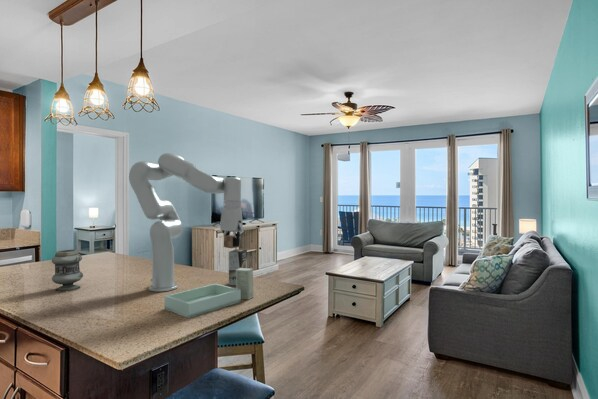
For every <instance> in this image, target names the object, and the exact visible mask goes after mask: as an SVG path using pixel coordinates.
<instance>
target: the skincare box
mask: <svg viewBox="0 0 598 399" xmlns="http://www.w3.org/2000/svg"><path fill="white" fill-rule="evenodd" d="M253 269H254V268H253V267H250V268H249V267H247V268H239V269H237V270H236V285H235V288H236V289H240V290H241V299H242V300H251V299H252V298H254V295H255V294H254V293H255V291H254V270H253Z"/></svg>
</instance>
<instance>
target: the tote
mask: <svg viewBox="0 0 598 399" xmlns="http://www.w3.org/2000/svg"><path fill="white" fill-rule="evenodd" d="M241 302H242V301H241V290H240V289H236V287H232V286H227V285H223V284H220V283H219V284H218V283H212V284H207V285H204V286H199V287H195V288H191V289H188V290H184V291H180V292H175V293H171V294H167V295H164V310H166V311H168V312H172V313H173V314H174V313H175V314H177V315H180V316H182V317H185V318H188V319H190V318H194V317H197V316H200V315H201V316H202V315H204V314H206V313H207V314H208V313H209V312H212V311H213V312H214V311H215V310H219V309H222V308H225V307H229V306H232V305H235V304H238V303H241Z"/></svg>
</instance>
